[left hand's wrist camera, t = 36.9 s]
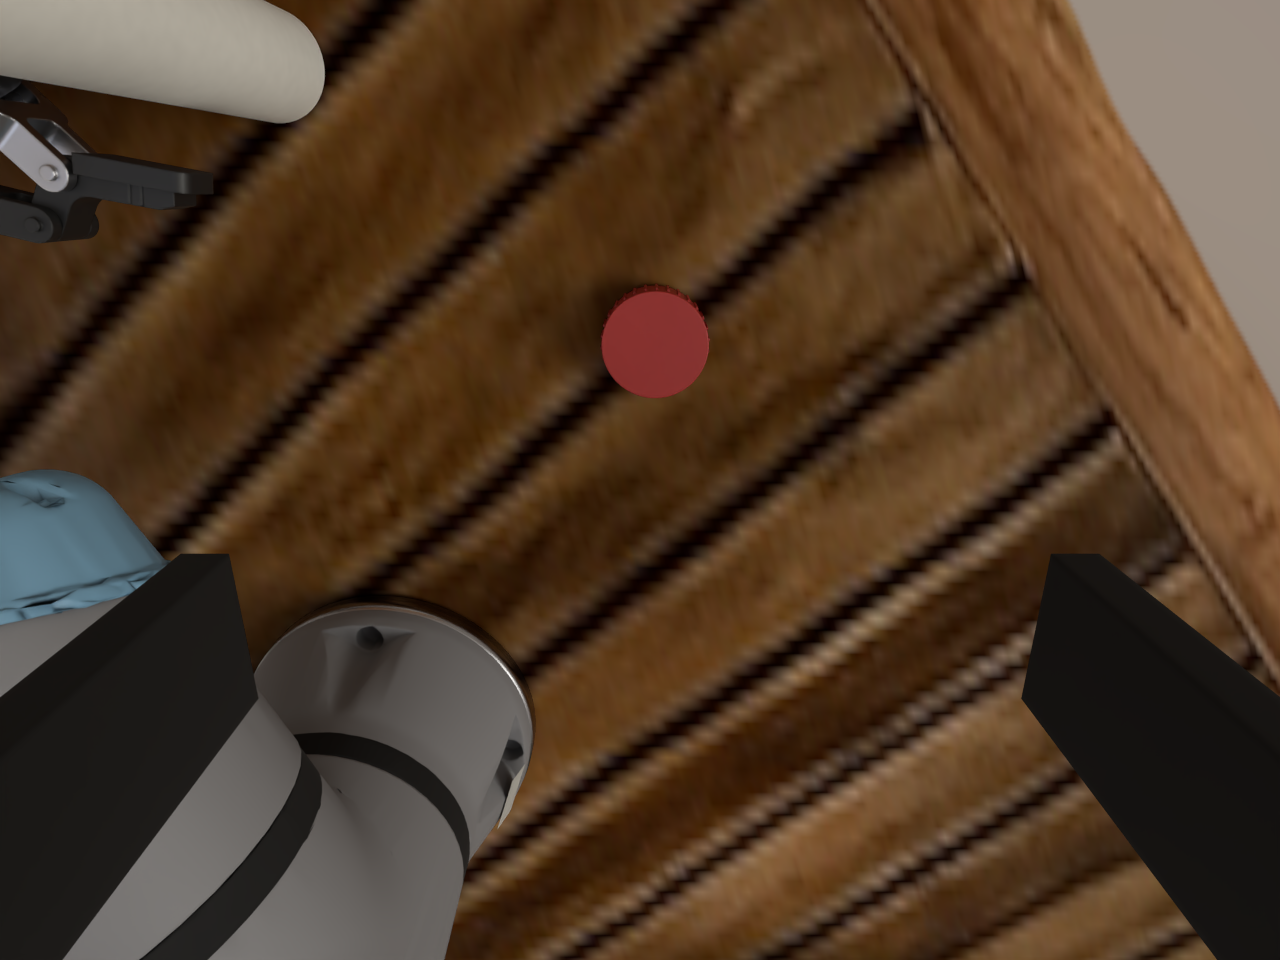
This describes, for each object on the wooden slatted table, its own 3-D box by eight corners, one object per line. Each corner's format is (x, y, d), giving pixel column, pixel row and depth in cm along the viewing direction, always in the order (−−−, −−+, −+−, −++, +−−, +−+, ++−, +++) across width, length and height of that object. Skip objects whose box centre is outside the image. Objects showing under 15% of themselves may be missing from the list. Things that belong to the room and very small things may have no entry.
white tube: (251, 137, 33) (-238, 76, 15) (200, 27, 31) (-410, -192, 13) (343, 103, 32) (-45, -4, 14) (296, -10, 31) (-202, -291, 13)
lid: (669, 261, 34) (670, 266, 32) (726, 350, 36) (731, 360, 34) (581, 323, 35) (577, 331, 33) (641, 407, 37) (640, 420, 35)
